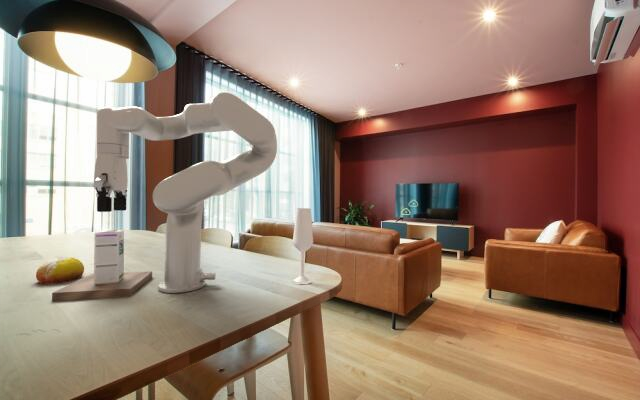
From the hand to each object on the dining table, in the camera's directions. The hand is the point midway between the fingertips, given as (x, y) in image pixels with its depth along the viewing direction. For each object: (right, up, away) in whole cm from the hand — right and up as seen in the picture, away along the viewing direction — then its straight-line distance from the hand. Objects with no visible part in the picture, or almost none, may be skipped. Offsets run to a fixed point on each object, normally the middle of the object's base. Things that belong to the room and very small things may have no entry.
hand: (112, 211), depth 79 cm
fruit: (-21, -22, +7) cm, 32 cm away
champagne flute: (+54, -24, +10) cm, 60 cm away
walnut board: (-1, -22, 0) cm, 22 cm away
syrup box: (-1, -20, 0) cm, 20 cm away
